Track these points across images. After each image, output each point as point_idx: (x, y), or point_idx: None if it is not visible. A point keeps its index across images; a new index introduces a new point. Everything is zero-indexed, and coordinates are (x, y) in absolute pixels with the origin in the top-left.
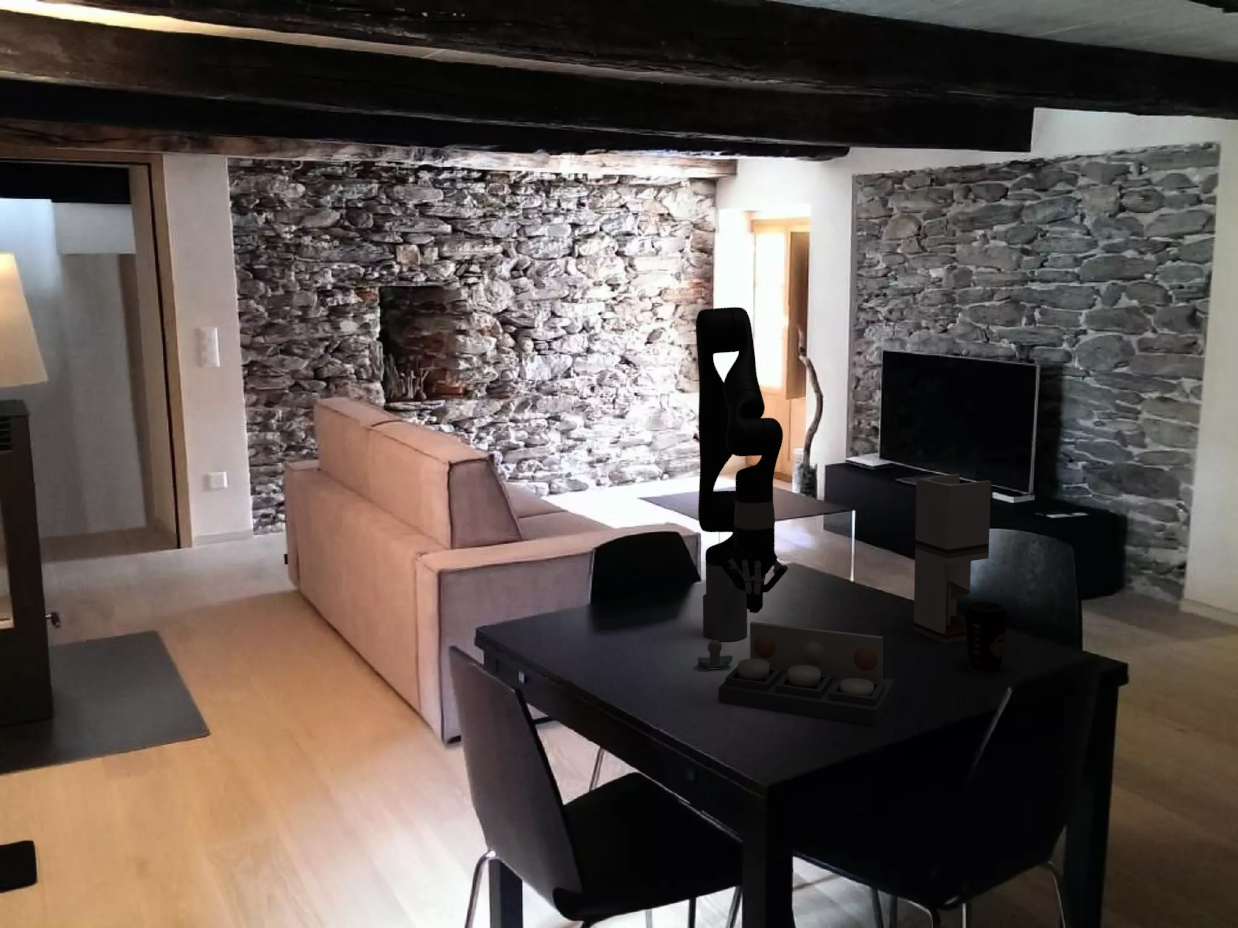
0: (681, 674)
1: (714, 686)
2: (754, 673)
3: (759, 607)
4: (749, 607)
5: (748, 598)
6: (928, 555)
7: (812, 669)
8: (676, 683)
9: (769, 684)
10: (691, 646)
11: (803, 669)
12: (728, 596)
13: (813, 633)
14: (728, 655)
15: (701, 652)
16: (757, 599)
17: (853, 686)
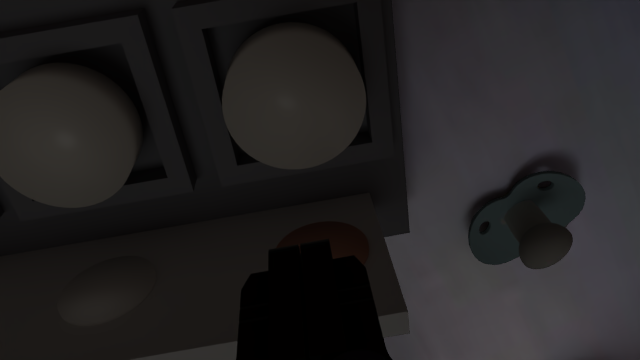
0: (602, 98)
1: (453, 59)
2: (255, 39)
3: (251, 290)
4: (330, 258)
5: (357, 322)
6: None
7: (39, 174)
8: (596, 12)
9: (177, 25)
10: (634, 301)
11: (71, 157)
12: None
13: (85, 355)
14: (493, 264)
15: (592, 280)
16: (268, 339)
17: None
